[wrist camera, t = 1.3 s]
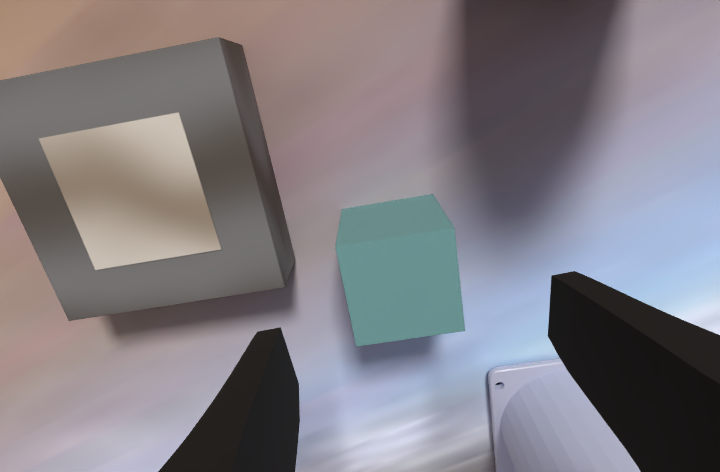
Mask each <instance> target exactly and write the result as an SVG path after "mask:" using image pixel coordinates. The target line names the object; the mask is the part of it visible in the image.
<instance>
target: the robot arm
mask: <svg viewBox="0 0 720 472" xmlns="http://www.w3.org/2000/svg"><path fill="white" fill-rule="evenodd" d="M548 337H549V339H550V340H551V342H552V344H553V346H554V348H555V350H556V352H557V353H558V355H559V357H560V358H559V359H552V360H545V361H538V362H530V363H523V364H516V365H508V366H501V367H495V368H493V369H491V370H490V371H489V373H488V383H489V395H490V407H491V419H492V431H493V443H494V455H495V467H496V472H720V335H718V334H715V333H713V332H710V331H708V330H705V329H703V328H701V327H698V326H696V325H693V324H691V323H688V322H686V321H683V320H681V319H679V318H677V317H674V316H672V315H670V314H667V313H665V312H663V311H661V310H658V309H656V308H654V307H652V306H650V305H647V304H645V303H643V302H641V301H639V300H637V299H634V298H632V297H630V296H628V295H626V294H624V293H622V292H620V291H617V290H615V289H613V288H611V287H609V286H607V285H605V284H603V283H600V282H598V281H596V280H594V279H592V278H589V277H587V276H585V275H583V274H580V273H578V272H575V271H574V272H568V273H563V274H558V275H553V276H552V279H551V295H550V311H549V327H548ZM498 382H502V383H501V384H499V385H495V384H496V383H498ZM299 422H300V418H299V383H298V380H297V377H296V374H295V371H294V368H293V365H292V361H291V358H290V355H289V352H288V349H287V346H286V343H285V340H284V337H283V334H282V331H281V327H280V328H275V329H269V330H264V331H259V332H257V333H256V335H255V336H254V338H253V339H252V341H251V342H250V344H249V346H248V347H247V349H246V351H245V352H244V354H243V355H242V357H241V359H240V360H239V362H238V364H237V365H236V367H235V368H234V370H233V372H232V373H231V375H230V376H229V378H228V379H227V381H226V382H225V384H224V385H223V387H222V388H221V390H220V391H219V393H218V394H217V396H216V397H215V399H214V400H213V402H212V403H211V405H210V406H209V407H208V409H207V410H206V412H205V413H204V414H203V416H202V417H201V419H200V420H199V421H198V423H197V424H196V425H195V427H194V428H193V430H192V431H191V432H190V434H189V435H188V436H187V437H186V439H185V440H184V441H183V443H182V444H181V445H180V446H179V448H178V449H177V450H176V451H175V453H174V454H173V455H172V456H171V457H170V459H169V460H168V461H167V462H166V463H165V464H164V466H163V467H162V468H161V469H160V470H159V472H295V465H296V455H297V444H298V433H299Z"/></svg>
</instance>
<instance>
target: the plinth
mask: <svg viewBox="0 0 720 472" xmlns="http://www.w3.org/2000/svg"><path fill="white" fill-rule="evenodd" d="M0 178H1V180H2V182H3V184H4V186H5V188H6V190H7V192H8V195H9V197H10V199H11V201H12V203H13V205H14V207H15V209H16V211H17V213H18V215H19V218H20V220H21V222H22V224H23V226H24V228H25V230H26V232H27V234H28V236H29V238H30V241H31V243H32V245H33V247H34V249H35V251H36V253H37V255H38V257H39V259H40V261H41V264H42V266H43V268H44V270H45V272H46V274H47V276H48V278H49V280H50V282H51V284H52V287H53V289H54V291H55V293H56V295H57V297H58V299H59V301H60V303H61V305H62V307H63V309H64V312H65V314H66V316H67V318H68V320H69V321H72V320H78V319H85V318H91V317H97V316H104V315H110V314H117V313H123V312H130V311H136V310H143V309H149V308H155V307H162V306H168V305H175V304H181V303H188V302H194V301H201V300H207V299H213V298H220V297H226V296H233V295H239V294H246V293H252V292H258V291H265V290H271V289H278V288H284V287H285V286H286V283H287V280H288V278H289V275H290V273H291V270H292V268H293V265H294V262H295V256H294V252H293V248H292V244H291V240H290V236H289V232H288V228H287V224H286V220H285V216H284V212H283V208H282V204H281V200H280V196H279V192H278V188H277V184H276V180H275V176H274V172H273V168H272V164H271V159H270V155H269V151H268V147H267V143H266V139H265V135H264V131H263V127H262V123H261V119H260V115H259V111H258V107H257V103H256V99H255V95H254V91H253V87H252V83H251V79H250V75H249V71H248V67H247V63H246V59H245V55H244V51H243V47H242V45H240V44H237V43H234V42H231V41H228V40H225V39H222V38H219V37H218V38H212V39H207V40H202V41H197V42H192V43H187V44H182V45H177V46H172V47H167V48H162V49H157V50H152V51H147V52H142V53H137V54H132V55H127V56H122V57H117V58H112V59H106V60H101V61H96V62H91V63H86V64H81V65H76V66H71V67H66V68H61V69H56V70H51V71H46V72H41V73H36V74H31V75H26V76H21V77H16V78H11V79H6V80H1V81H0Z"/></svg>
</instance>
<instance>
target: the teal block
mask: <svg viewBox="0 0 720 472" xmlns="http://www.w3.org/2000/svg"><path fill="white" fill-rule="evenodd" d="M336 252H337V257H338V262H339V267H340V271H341V276H342V281H343V286H344V290H345V295H346V300H347V305H348V309H349V314H350V319H351V324H352V328H353V333H354V338H355V343H356V346H363V345H370V344H377V343H384V342H391V341H398V340H405V339H412V338H419V337H426V336H433V335H440V334H447V333H454V332H461V331H465V326H464V316H463V306H462V296H461V287H460V277H459V267H458V257H457V247H456V237H455V228H454V226H453V225H452V223H451V222H450V220H449V218H448V217H447V215H446V214H445V212H444V211H443V209H442V208H441V206H440V204H439V203H438V201H437V200H436V198H435V197H434V195H433V194H430V195H424V196H418V197H412V198H406V199H400V200H394V201H388V202H382V203H376V204H370V205H364V206H358V207H352V208H346V209H342V212H341V218H340V223H339V229H338V235H337V241H336Z"/></svg>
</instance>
